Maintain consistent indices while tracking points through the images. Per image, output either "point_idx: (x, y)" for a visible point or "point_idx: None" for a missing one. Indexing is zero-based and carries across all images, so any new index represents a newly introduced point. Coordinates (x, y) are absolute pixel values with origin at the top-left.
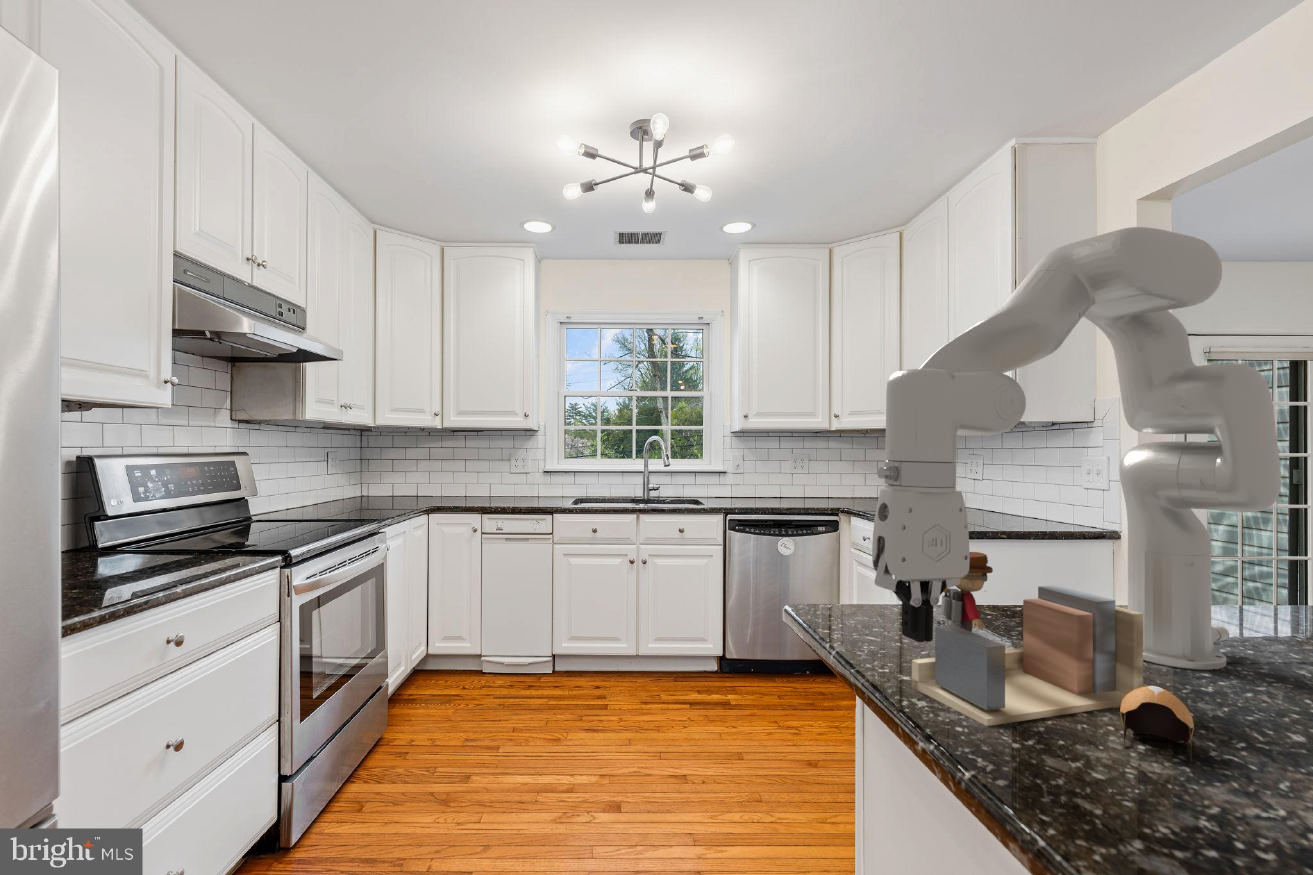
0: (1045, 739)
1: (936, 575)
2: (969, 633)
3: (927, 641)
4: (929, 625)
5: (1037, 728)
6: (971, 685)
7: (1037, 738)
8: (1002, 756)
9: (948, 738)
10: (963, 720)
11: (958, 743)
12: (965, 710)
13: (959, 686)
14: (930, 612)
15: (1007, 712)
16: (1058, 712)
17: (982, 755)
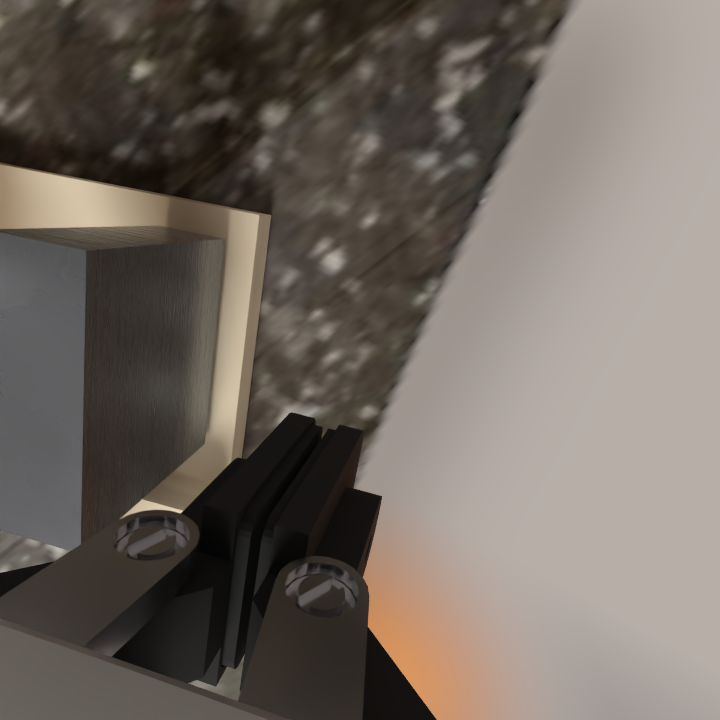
0: (167, 101)
1: (25, 683)
2: (14, 418)
3: (314, 423)
4: (285, 450)
5: (130, 158)
6: (192, 309)
7: (182, 115)
8: (369, 83)
9: (413, 233)
10: (277, 289)
11: (414, 198)
12: (252, 299)
13: (199, 356)
14: (244, 490)
15: (162, 218)
16: (15, 166)
17: (416, 114)
